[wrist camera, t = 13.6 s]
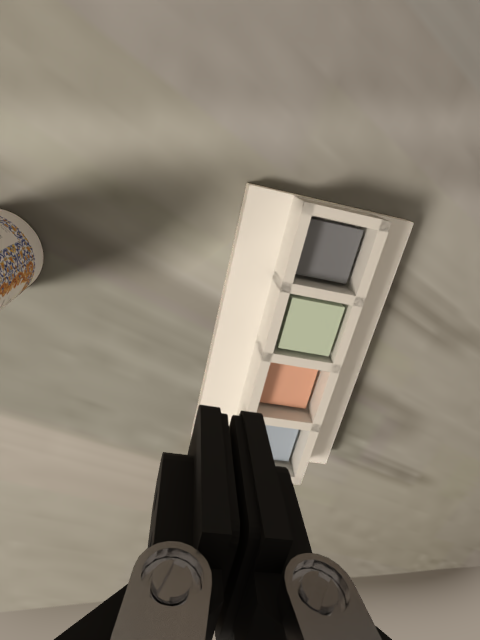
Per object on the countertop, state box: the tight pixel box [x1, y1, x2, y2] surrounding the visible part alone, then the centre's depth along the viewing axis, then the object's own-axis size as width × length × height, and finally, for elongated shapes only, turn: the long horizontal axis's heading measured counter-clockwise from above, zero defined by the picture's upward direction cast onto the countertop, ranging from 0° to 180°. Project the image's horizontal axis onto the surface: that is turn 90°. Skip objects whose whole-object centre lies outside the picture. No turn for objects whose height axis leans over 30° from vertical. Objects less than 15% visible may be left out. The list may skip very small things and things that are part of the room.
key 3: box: [260, 362, 318, 409], centre depth 39 cm, size 4×4×2 cm
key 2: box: [276, 294, 345, 356], centre depth 35 cm, size 4×4×2 cm
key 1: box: [296, 217, 364, 284], centre depth 34 cm, size 4×4×2 cm
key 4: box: [265, 425, 299, 461], centre depth 41 cm, size 4×4×2 cm
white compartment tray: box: [191, 183, 414, 485], centre depth 38 cm, size 25×14×6 cm, turn 167°
